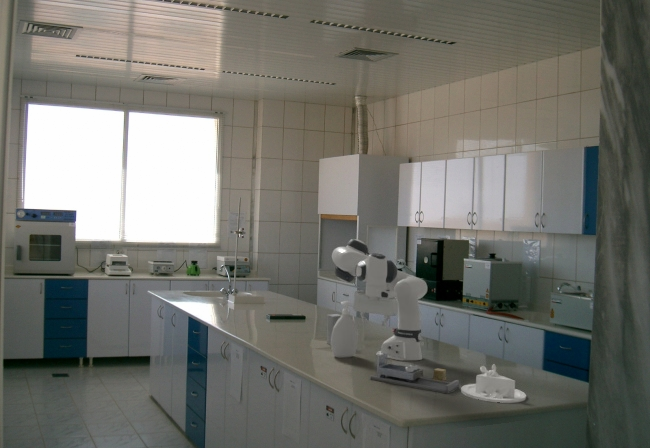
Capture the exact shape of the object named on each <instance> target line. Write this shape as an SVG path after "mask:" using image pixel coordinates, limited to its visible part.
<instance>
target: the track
mask: <svg viewBox="0 0 650 448" xmlns="http://www.w3.org/2000/svg"><path fill="white" fill-rule="evenodd" d="M380 375H381V374H376V375H370V380H372V381H378V382H383V383H388V384H395V385H400V386H404V387H410V388H416V389H420V390H426V391H431V390H432V391H431V392H438V393H442V394H448V395H449V394H450V393H452V392H454V391H456V390H457V389H460V383H459V382H460V380H459V379H454V380H453V381H451V382H447V381H438V380H433V378H432V379H430V378H425V377H422V376H421V377H420V378H419V379H418V380H412V383H409V382H407V380H408V379H403V378H398V377H392V376H387V375H385V378H381V377H380Z"/></svg>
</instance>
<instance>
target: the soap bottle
mask: <svg viewBox="0 0 650 448" xmlns="http://www.w3.org/2000/svg"><path fill="white" fill-rule="evenodd" d="M340 304H341V305H342V306H344V308H342V310H341V311H342V312H341V315H342V316H341V317H340V318H339V319H338V320H337V322H336V324H335V326H334V327H333V331H332V336H331V345H330V348H331V349H330V350H331V352H332V354H333V356H334V357H335V358H337V359H338V358H341V359H342V358H344V359H345V358H352V357H354V356H355V354H356V352H357V348H358V344H359V332H358V327H357V324H356V322H355V321H354V320H353V318H352V317H351V315H350V314H351V310H350V308H348V306H352V303H351V302H350V301H349V300H344V301H340Z"/></svg>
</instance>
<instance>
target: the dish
mask: <svg viewBox="0 0 650 448" xmlns="http://www.w3.org/2000/svg"><path fill="white" fill-rule="evenodd" d="M479 370H480V372H481V374H476V375H475V383H468V384H464V385H463V386H462V387H460V391H461V394H463V395H464V396H466V397H469V398H471V399H474V400H478V399H479V400H478V401H484V402H491V403H497V402H500V404H501V403H502V404H512V403H513V404H514V403H520V402H524V401H526V399H527V395H526V393H525V392H523V391H521V390H520V389H516V388H515V387H516V380H515V379H514V380H513V379H511V378H509V377H507V376H503V375H501V374H499V373H498V372H497V366H496V364H495V363H493V364H492V365H491V369H489V370H488V369H487V368H486V366H485V365H481V366H480V368H479Z"/></svg>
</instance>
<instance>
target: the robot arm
mask: <svg viewBox="0 0 650 448" xmlns="http://www.w3.org/2000/svg"><path fill="white" fill-rule="evenodd" d="M331 259H332V260H331V261H332V262H333V263H334V265H335V271H334V274H335V277H336V278H337V279H338V280H340V281H342V282H345V283H352V282H353V281H354V280H355V279H356V278H357V279H358V281H359V282H364V283H365V290H362V289H361V290H360V289H357V290H356V291H354V293H353V295H354V296H353V304H352V310H353V311H354V312H359V315H360V317H361V322H362V323H363V324H366V323H367V322H368V318H366V316H365V314H366V313H367V314H375V315H381V316H384V320H383V321H381V326H383V327H386V326H387V322H388V321H389V319H390V317H395V316H397V327H396V328H393V330H392V332H393V335H392V336H390V337H389V338H387V339H386V340H384V341H383V343H381V349H380V350H378V351H377V352H376V353H375V355H376V356H377V357H378V356H379V355H382V354H385V353H388V354H387V359H391V360H396V361H403V362H404V361H419V360H420V361H421V360H423V356H422V350H421V349H422V348H421V341H422V329H421V323H422V313H421V311H420V305H419V300H420V299H422V298H423V297H424V296H425V295H426V294H427V292H428V285H427V282H426V280H424V279H422V278H420V277H417V276H415V275H412V274H409V273H408V272H404V271H401V270H398V268H397V265H396V264H395V263H394V261H392V260H388V259H387V257H386V255H384V254H382V253H374V252H373V253H370V252H369V248H368V245H366V243H365V242H364V241H362V240H360V239H357V238H356V239H355V238H351V239H350V240H349V241H348V242H347V243H346V246H338V247H336V248H334V249H333V251H332V253H331Z"/></svg>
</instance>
